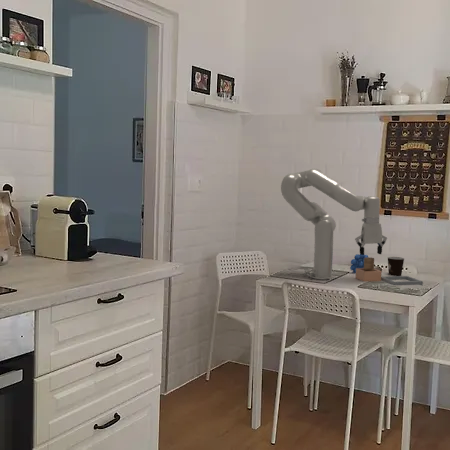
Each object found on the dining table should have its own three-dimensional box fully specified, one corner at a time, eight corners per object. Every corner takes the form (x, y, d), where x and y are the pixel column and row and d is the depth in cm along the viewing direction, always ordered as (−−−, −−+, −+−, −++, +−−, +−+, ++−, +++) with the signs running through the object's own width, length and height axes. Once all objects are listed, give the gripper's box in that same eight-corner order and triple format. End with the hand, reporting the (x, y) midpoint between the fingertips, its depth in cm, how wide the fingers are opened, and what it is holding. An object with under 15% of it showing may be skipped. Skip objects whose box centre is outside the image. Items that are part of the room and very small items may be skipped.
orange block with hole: (363, 283, 313) (364, 271, 313) (355, 279, 322) (356, 268, 322) (380, 282, 316) (381, 271, 315) (372, 279, 325) (372, 267, 324)
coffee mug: (403, 278, 329) (404, 259, 328) (387, 277, 331) (388, 258, 330) (402, 274, 341) (403, 256, 340) (385, 273, 342) (386, 255, 341)
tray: (393, 287, 306) (393, 282, 306) (379, 281, 319) (379, 276, 319) (422, 286, 310) (422, 281, 310) (407, 280, 323) (407, 275, 323)
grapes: (363, 272, 343) (365, 251, 342) (371, 274, 337) (372, 252, 336) (345, 273, 339) (346, 251, 338) (352, 275, 333) (353, 253, 332)
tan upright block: (366, 280, 316) (367, 259, 315) (361, 278, 321) (362, 257, 319) (374, 280, 317) (376, 258, 316) (370, 278, 322) (371, 257, 321)
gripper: (359, 222, 310) (358, 256, 311) (390, 221, 314) (389, 254, 316) (352, 220, 317) (351, 253, 319) (383, 219, 321) (382, 252, 323)
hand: (370, 254), depth 317 cm, fingers open, 9 cm apart
